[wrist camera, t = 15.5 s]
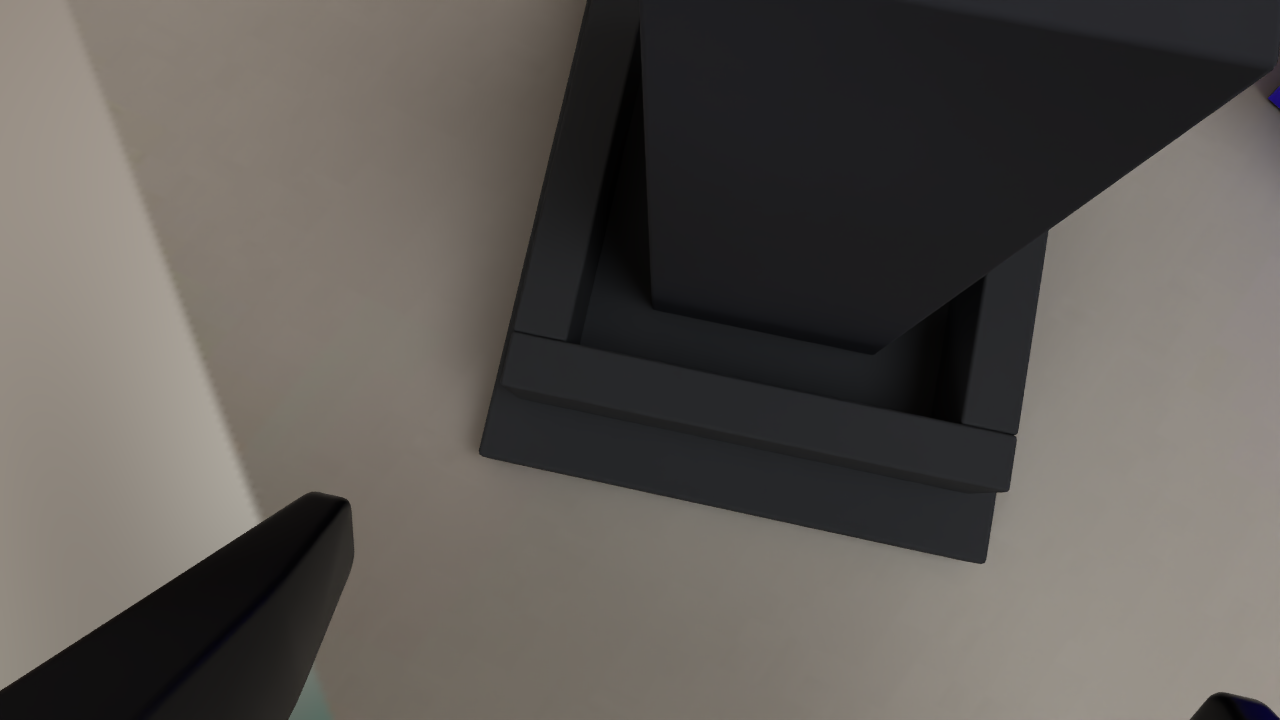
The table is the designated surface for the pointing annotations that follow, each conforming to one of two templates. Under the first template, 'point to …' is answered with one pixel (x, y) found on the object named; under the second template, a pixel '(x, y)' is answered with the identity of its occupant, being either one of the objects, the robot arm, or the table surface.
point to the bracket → (1275, 97)
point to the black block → (903, 141)
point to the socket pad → (742, 361)
